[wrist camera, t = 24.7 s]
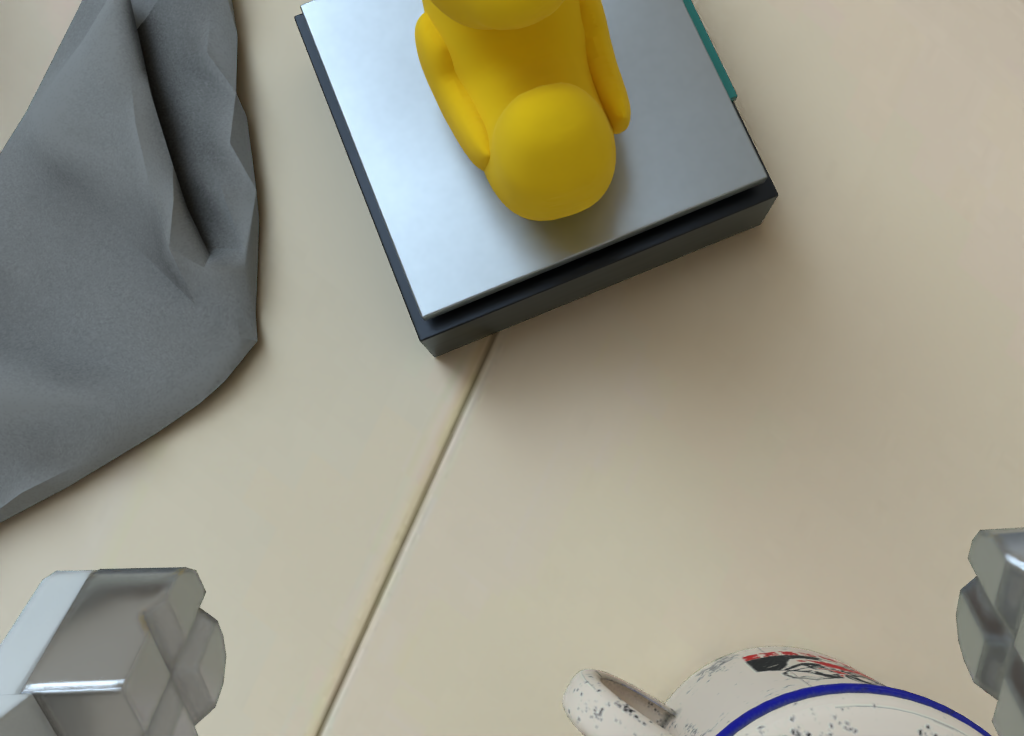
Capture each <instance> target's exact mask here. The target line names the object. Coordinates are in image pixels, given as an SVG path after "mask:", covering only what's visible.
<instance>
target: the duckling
mask: <svg viewBox="0 0 1024 736" xmlns="http://www.w3.org/2000/svg"><path fill="white" fill-rule="evenodd" d="M422 2H423V7H424V13H423V14H422V15H421V16H420V17H419V19H418V20H417V23H416V26H415V43H416V49H417V53H418V57H419V61H420V64H421V67H422V70H423V72H424V75H425V77H426V80H427V82H428V84H429V87H430V89H431V91H432V93H433V95H434V97H435V99H436V101H437V104H438V106H439V108H440V110H441V112H442V114H443V116H444V118H445V120H446V122H447V123H448V125H449V127H450V129H451V131H452V132H453V134H454V136H455V138H456V139H457V141H458V143H459V144H460V146H461V148H462V149H463V151H464V152H465V154H466V155H467V156H468V158H469V159H470V160H471V161H472V163H473V164H474V165H475V166H476V167H478V168H479V169H480V170H482V171H484V173H485V175H486V177H487V180H488V182H489V184H490V186H491V187H492V189H493V191H494V192H495V194H496V195H497V197H498V198H499V199H500V200H501V202H502V203H503V204H504V205H505V206H506V207H507V208H508V209H509V210H511V211H512V212H514V213H515V214H517V215H519V216H521V217H523V218H526V219H529V220H534V221H549V220H556V219H559V218H563V217H567V216H570V215H573V214H576V213H579V212H581V211H583V210H585V209H587V208H589V207H591V206H592V205H594V204H595V203H596V202H597V201H598V200H599V199H600V198H601V197H602V196H603V195H604V194H605V192H606V191H607V189H608V187H609V185H610V183H611V181H612V178H613V175H614V170H615V164H616V146H615V139H614V134H620V133H622V132H623V131H625V130H626V129H627V127H628V126H629V123H630V118H631V109H630V102H629V98H628V94H627V91H626V88H625V85H624V82H623V79H622V76H621V73H620V70H619V67H618V64H617V61H616V57H615V54H614V50H613V46H612V43H611V39H610V34H609V29H608V25H607V20H606V16H605V12H604V9H603V5H602V2H601V0H422Z"/></svg>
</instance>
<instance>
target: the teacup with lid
mask: <svg viewBox="0 0 1024 736" xmlns="http://www.w3.org/2000/svg"><path fill="white" fill-rule="evenodd" d="M563 708H564V711H565V713H566V715H567V717H568V718H569V720H570V721H571V722H572V723H573V725H574V726H575V727H576V728H577V729H578V730H579V731H580V732H581V733H582V734H583V735H584V736H991V735H990V734H989V733H987V732H986V731H985V730H984V729H982V728H981V727H979V726H978V725H976V724H975V723H973V722H972V721H970V720H969V719H967V718H966V717H964V716H963V715H961V714H959V713H957V712H955V711H953V710H952V709H950V708H948V707H946V706H944V705H942V704H939V703H937V702H935V701H932V700H930V699H928V698H925V697H923V696H920V695H916V694H913V693H910V692H907V691H904V690H899V689H895V688H890V687H886V686H884V685H883V684H881V683H879V682H877V681H875V680H873V679H872V678H870V677H868V676H866V675H864V674H862V673H861V672H859V671H857V670H855V669H853V668H851V667H849V666H848V665H846V664H844V663H842V662H840V661H838V660H836V659H833V658H831V657H829V656H826V655H823V654H820V653H817V652H814V651H810V650H805V649H800V648H793V647H781V646H768V647H757V648H751V649H746V650H742V651H738V652H735V653H731V654H729V655H726V656H724V657H721V658H719V659H717V660H715V661H713V662H711V663H709V664H708V665H706V666H704V667H703V668H701V669H700V670H698V671H697V672H695V673H694V674H693V675H692V676H691V677H689V678H688V679H687V680H686V681H685V682H684V683H683V684H682V685H681V686H680V687H679V688H678V689H677V690H676V691H675V692H674V693H673V695H672V696H671V697H670V698H669V700H668V701H667V702H666V704H663V703H662V702H660V701H658V700H657V699H655V698H653V697H652V696H650V695H649V694H647V693H645V692H644V691H642V690H640V689H638V688H637V687H635V686H633V685H631V684H629V683H628V682H626V681H624V680H622V679H620V678H618V677H616V676H613V675H611V674H609V673H606V672H603V671H600V670H595V669H584V670H581V671H579V672H578V673H577V674H576V675H575V676H574V677H573V679H572V680H571V682H570V684H569V685H568V687H567V689H566V691H565V693H564V696H563Z"/></svg>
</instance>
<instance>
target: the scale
mask: <svg viewBox="0 0 1024 736" xmlns="http://www.w3.org/2000/svg"><path fill="white" fill-rule="evenodd" d="M601 2H602V5H603V9H604V12H605V16H606V20H607V25H608V29H609V34H610V39H611V43H612V46H613V50H614V54H615V57H616V61H617V64H618V67H619V70H620V73H621V76H622V79H623V82H624V85H625V88H626V91H627V94H628V98H629V102H630V109H631V118H630V123H629V126H628V127H627V129H626V130H625V131H623V132H622V133H620V134H614V139H615V146H616V164H615V170H614V175H613V178H612V181H611V183H610V185H609V187H608V189H607V191H606V192H605V194H604V195H603V196H602V197H601V198H600V199H599V200H598V201H597V202H596V203H595V204H594V205H592V206H591V207H589V208H587V209H585V210H583V211H581V212H579V213H576V214H573V215H570V216H567V217H563V218H559V219H556V220H549V221H534V220H529V219H526V218H523V217H521V216H519V215H517V214H515V213H514V212H512V211H511V210H509V209H508V208H507V207H506V206H505V205H504V204H503V203H502V202H501V200H500V199H499V198H498V197H497V195H496V194H495V192H494V191H493V189H492V187H491V186H490V184H489V182H488V180H487V177H486V175H485V173H484V171H482V170H480V169H479V168H478V167H476V166H475V165H474V164H473V163H472V161H471V160H470V159H469V158H468V156H467V155H466V154H465V152H464V151H463V149H462V148H461V146H460V144H459V143H458V141H457V139H456V138H455V136H454V134H453V132H452V131H451V129H450V127H449V125H448V123H447V122H446V120H445V118H444V116H443V114H442V112H441V110H440V108H439V106H438V104H437V101H436V99H435V97H434V95H433V93H432V91H431V89H430V87H429V84H428V82H427V80H426V77H425V75H424V72H423V70H422V67H421V64H420V61H419V57H418V53H417V49H416V43H415V26H416V23H417V20H418V19H419V17H420V16H421V15H422V14H423V13H424V7H423V2H422V0H312V1H310V2H308V3H305V4H303V5H301V6H300V8H301V10H302V14H300V15H297V16H295V17H294V19H295V21H296V24H297V26H298V29H299V32H300V34H301V37H302V39H303V42H304V44H305V47H306V50H307V52H308V55H309V57H310V60H311V62H312V65H313V68H314V70H315V73H316V75H317V78H318V80H319V83H320V86H321V88H322V91H323V93H324V96H325V98H326V101H327V104H328V106H329V109H330V111H331V114H332V116H333V119H334V122H335V124H336V127H337V129H338V132H339V134H340V137H341V140H342V142H343V145H344V147H345V150H346V152H347V155H348V158H349V160H350V163H351V165H352V168H353V170H354V173H355V176H356V178H357V181H358V183H359V186H360V188H361V191H362V194H363V196H364V199H365V201H366V204H367V206H368V209H369V212H370V214H371V217H372V219H373V222H374V224H375V227H376V230H377V232H378V235H379V237H380V240H381V242H382V245H383V248H384V250H385V253H386V255H387V258H388V260H389V263H390V266H391V268H392V271H393V273H394V276H395V278H396V281H397V284H398V286H399V289H400V291H401V294H402V296H403V299H404V302H405V304H406V307H407V309H408V312H409V314H410V317H411V320H412V322H413V325H414V327H415V330H416V332H417V335H418V338H419V340H420V342H421V343H422V344H423V345H424V346H425V347H426V348H427V349H428V350H429V352H430V353H431V354H432V355H433V356H434V357H437V356H439V355H441V354H444V353H446V352H449V351H451V350H454V349H456V348H459V347H461V346H464V345H466V344H468V343H471V342H473V341H476V340H478V339H481V338H483V337H486V336H488V335H490V334H493V333H495V332H498V331H500V330H503V329H505V328H508V327H510V326H512V325H515V324H517V323H520V322H522V321H525V320H527V319H530V318H532V317H535V316H537V315H539V314H542V313H544V312H547V311H549V310H552V309H554V308H557V307H559V306H561V305H564V304H566V303H569V302H571V301H574V300H576V299H579V298H581V297H583V296H586V295H588V294H591V293H593V292H596V291H598V290H601V289H603V288H606V287H608V286H610V285H613V284H615V283H618V282H620V281H623V280H625V279H628V278H630V277H632V276H635V275H637V274H640V273H642V272H645V271H647V270H650V269H652V268H654V267H657V266H659V265H662V264H664V263H667V262H669V261H672V260H674V259H677V258H679V257H681V256H684V255H686V254H689V253H691V252H694V251H696V250H699V249H701V248H703V247H706V246H708V245H711V244H713V243H716V242H718V241H721V240H723V239H725V238H728V237H730V236H733V235H735V234H738V233H740V232H743V231H745V230H747V229H750V228H752V227H755V226H757V225H760V224H761V223H762V221H763V220H764V218H765V216H766V215H767V213H768V211H769V210H770V208H771V206H772V205H773V203H774V202H775V200H776V198H777V197H778V193H777V191H776V189H775V187H774V185H773V182H772V180H771V178H770V176H769V174H768V172H767V170H766V168H765V166H764V164H763V162H762V160H761V158H760V156H759V154H758V151H757V149H756V147H755V145H754V143H753V141H752V139H751V137H750V135H749V133H748V131H747V129H746V127H745V125H744V122H743V120H742V118H741V116H740V114H739V112H738V110H737V108H736V106H735V104H734V102H733V101H735V100H736V98H737V94H736V92H735V90H734V88H733V86H732V84H731V81H730V79H729V77H728V75H727V73H726V71H725V69H724V67H723V65H722V63H721V61H720V59H719V57H718V55H717V53H716V51H715V48H714V46H713V44H712V42H711V40H710V38H709V36H708V34H707V32H706V30H705V28H704V26H703V24H702V22H701V20H700V18H699V15H698V13H697V11H696V9H695V7H694V5H693V3H692V1H691V0H601Z"/></svg>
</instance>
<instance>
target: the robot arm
mask: <svg viewBox="0 0 1024 736" xmlns="http://www.w3.org/2000/svg"><path fill="white" fill-rule="evenodd" d="M968 560H969V562H970V564H971V566H972V568H973V569H974V571H975V573H976V575H977V576H976V577H975V578H974V579H973V580H972V581H970V582H969V583H968V584H967V585H966V586H964V587H963V588H962V589H961V590H960V594H959V600H958V605H957V611H956V621H957V633H958V641H959V645H960V648H961V652H962V655H963V659H964V662H965V664H966V666H967V669H968V671H969V673H970V675H971V677H972V680H973V682H974V683H975V684H976V685H978V686H979V687H980V688H982V689H983V690H984V691H986V692H987V693H988V694H990V695H991V696H993V697H994V698H995V699H997V700H998V702H997V705H996V709H995V712H994V716H993V720H992V723H993V725H994V727H995V729H996V731H997V733H998V735H999V736H1024V527H1023V528H1005V529H987V530H980V531H979V532H978V533H977V535H976V536H975V537H974V539H973V540H972V544H971V547H970V551H969V555H968ZM205 593H206V591H205V588H204V586H203V584H202V582H201V580H200V578H199V575H198V573H197V571H196V570H193V569H190V568H186V567H178V568H131V569H100V570H82V571H56V572H54V573H52V574H51V575H49V576H48V577H46V578H45V579H43V580H42V581H41V583H40V584H39V586H38V587H37V589H36V591H35V592H34V594H33V595H32V597H31V598H30V600H29V601H28V603H27V604H26V606H25V608H24V609H23V611H22V612H21V614H20V615H19V617H18V618H17V620H16V621H15V623H14V625H13V626H12V628H11V629H10V631H9V632H8V634H7V635H6V637H5V638H4V640H3V641H2V643H1V645H0V736H198V734H197V731H196V729H195V725H196V724H197V723H199V722H200V721H201V720H202V719H203V718H204V717H205V716H206V715H207V714H208V713H210V712H211V711H212V710H213V709H214V708H215V707H216V704H217V701H218V698H219V695H220V692H221V689H222V686H223V683H224V673H225V664H226V651H225V644H224V636H223V634H222V631H221V629H220V626H219V623H218V621H217V620H216V619H215V618H213V617H212V616H211V615H209V614H208V613H206V612H205V611H204V610H202V609H201V608H199V607H200V605H201V603H202V600H203V598H204V596H205Z"/></svg>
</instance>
